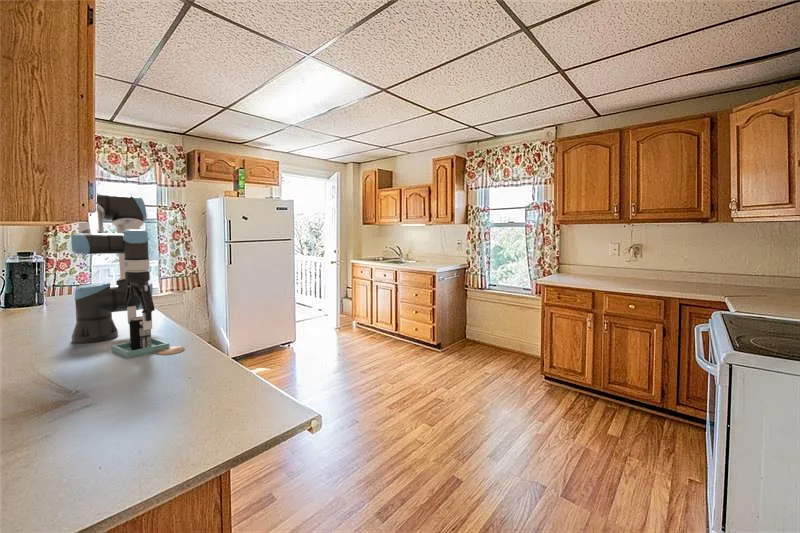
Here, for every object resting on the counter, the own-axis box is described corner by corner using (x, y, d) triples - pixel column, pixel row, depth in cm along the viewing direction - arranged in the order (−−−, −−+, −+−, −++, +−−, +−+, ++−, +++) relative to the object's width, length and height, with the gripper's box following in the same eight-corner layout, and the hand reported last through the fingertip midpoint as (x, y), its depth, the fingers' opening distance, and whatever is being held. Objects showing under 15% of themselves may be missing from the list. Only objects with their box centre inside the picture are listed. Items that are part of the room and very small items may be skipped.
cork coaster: (152, 351, 139) (152, 350, 138) (177, 346, 146) (177, 345, 146) (163, 356, 134) (163, 355, 133) (188, 350, 141) (188, 349, 141)
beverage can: (132, 347, 142) (131, 316, 141) (153, 345, 145) (151, 315, 144) (128, 352, 136) (127, 320, 135) (149, 350, 139) (148, 318, 138)
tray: (111, 351, 138) (111, 345, 138) (153, 343, 150) (153, 337, 150) (127, 358, 131) (127, 352, 130) (169, 349, 142) (169, 343, 142)
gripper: (112, 268, 142) (115, 322, 144) (140, 274, 128) (143, 334, 130) (134, 267, 148) (137, 318, 150) (163, 273, 134) (166, 329, 136)
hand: (139, 326), depth 140 cm, fingers open, 13 cm apart
